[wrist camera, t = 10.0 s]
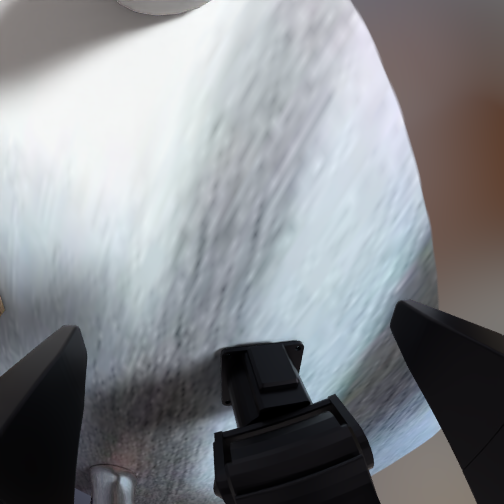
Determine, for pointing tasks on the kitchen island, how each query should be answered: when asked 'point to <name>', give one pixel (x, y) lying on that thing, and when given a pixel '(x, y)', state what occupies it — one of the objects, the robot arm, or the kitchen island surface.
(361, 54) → the kitchen island surface
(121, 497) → the beer glass
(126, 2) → the can
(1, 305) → the peg stand
